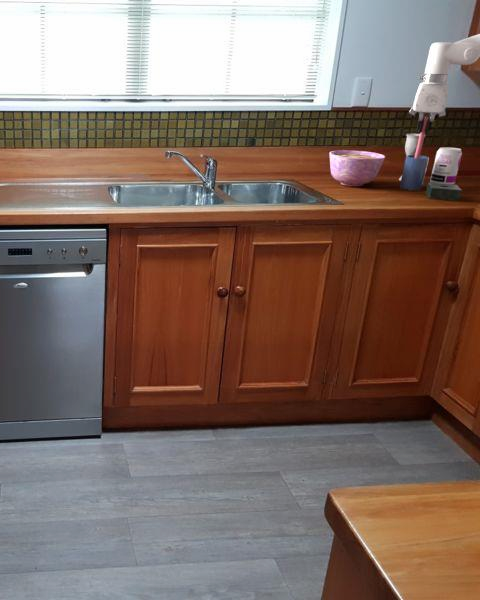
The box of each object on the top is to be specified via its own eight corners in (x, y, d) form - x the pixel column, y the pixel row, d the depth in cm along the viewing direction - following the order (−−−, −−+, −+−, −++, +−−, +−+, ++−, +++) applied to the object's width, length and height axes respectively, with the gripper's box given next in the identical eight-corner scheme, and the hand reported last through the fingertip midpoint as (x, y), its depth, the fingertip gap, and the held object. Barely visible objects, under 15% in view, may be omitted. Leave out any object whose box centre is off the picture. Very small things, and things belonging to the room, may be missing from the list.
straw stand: (454, 195, 222) (457, 184, 220) (458, 201, 214) (461, 190, 212) (425, 193, 225) (428, 182, 223) (429, 198, 217) (431, 187, 215)
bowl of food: (389, 186, 236) (396, 156, 232) (359, 192, 226) (365, 160, 221) (344, 177, 251) (349, 148, 247) (313, 182, 241) (318, 152, 236)
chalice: (398, 177, 252) (407, 133, 245) (416, 179, 248) (426, 134, 241) (394, 180, 246) (404, 135, 239) (413, 182, 243) (423, 136, 236)
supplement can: (450, 187, 236) (460, 147, 230) (454, 191, 229) (465, 151, 223) (427, 185, 238) (436, 146, 232) (430, 189, 231) (440, 149, 225)
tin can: (420, 187, 235) (427, 156, 230) (422, 191, 228) (430, 159, 224) (398, 185, 237) (405, 154, 233) (400, 189, 231) (407, 157, 226)
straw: (418, 160, 229) (428, 116, 223) (418, 161, 228) (429, 117, 221) (413, 160, 230) (423, 116, 223) (414, 160, 228) (424, 116, 222)
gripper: (411, 79, 217) (400, 132, 224) (461, 80, 212) (448, 134, 219) (409, 78, 223) (398, 129, 230) (457, 79, 218) (444, 132, 225)
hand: (422, 131), depth 225 cm, fingers closed on straw, 1 cm apart
